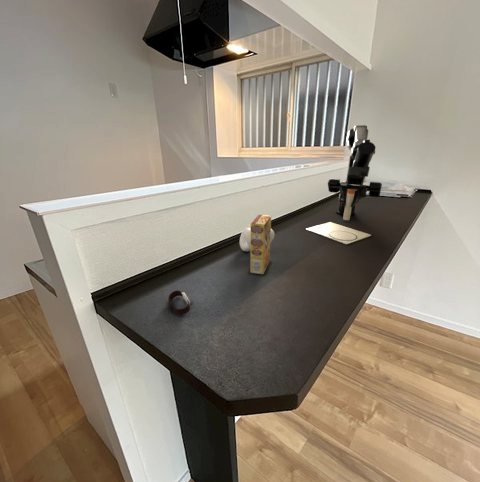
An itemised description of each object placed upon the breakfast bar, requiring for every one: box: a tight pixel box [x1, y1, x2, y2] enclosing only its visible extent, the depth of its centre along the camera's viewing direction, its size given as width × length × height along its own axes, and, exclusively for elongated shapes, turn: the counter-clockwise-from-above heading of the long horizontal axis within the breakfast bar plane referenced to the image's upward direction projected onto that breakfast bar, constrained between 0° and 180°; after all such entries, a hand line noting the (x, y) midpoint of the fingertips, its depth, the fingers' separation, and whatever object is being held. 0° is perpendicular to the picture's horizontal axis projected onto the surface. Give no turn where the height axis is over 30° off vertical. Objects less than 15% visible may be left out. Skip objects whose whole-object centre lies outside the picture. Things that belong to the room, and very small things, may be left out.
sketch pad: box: [305, 221, 372, 245], centre depth 107 cm, size 20×16×1 cm
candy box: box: [250, 214, 272, 275], centre depth 77 cm, size 9×4×15 cm, turn 162°
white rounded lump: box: [239, 223, 275, 253], centre depth 89 cm, size 11×12×9 cm
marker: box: [342, 189, 355, 224], centre depth 100 cm, size 2×2×12 cm
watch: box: [167, 290, 191, 315], centre depth 61 cm, size 8×5×4 cm, turn 33°
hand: (347, 206), depth 98 cm, fingers closed on marker, 2 cm apart
